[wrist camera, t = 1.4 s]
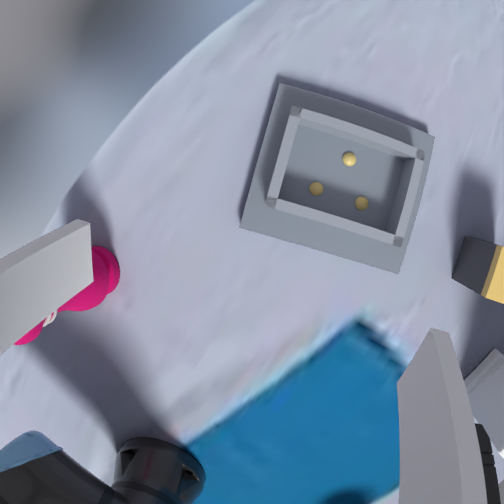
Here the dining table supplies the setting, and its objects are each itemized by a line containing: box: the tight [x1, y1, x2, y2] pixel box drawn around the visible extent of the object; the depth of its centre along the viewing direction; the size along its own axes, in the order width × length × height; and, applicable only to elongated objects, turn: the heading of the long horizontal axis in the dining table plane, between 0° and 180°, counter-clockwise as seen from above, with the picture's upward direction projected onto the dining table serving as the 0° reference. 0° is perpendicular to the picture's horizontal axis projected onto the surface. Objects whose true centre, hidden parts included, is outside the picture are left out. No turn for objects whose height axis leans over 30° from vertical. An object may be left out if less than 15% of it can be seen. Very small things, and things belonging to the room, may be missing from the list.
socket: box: [239, 83, 435, 274], centre depth 31 cm, size 16×18×4 cm
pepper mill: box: [14, 246, 120, 345], centre depth 28 cm, size 7×7×20 cm
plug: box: [452, 236, 504, 304], centre depth 29 cm, size 6×6×8 cm
